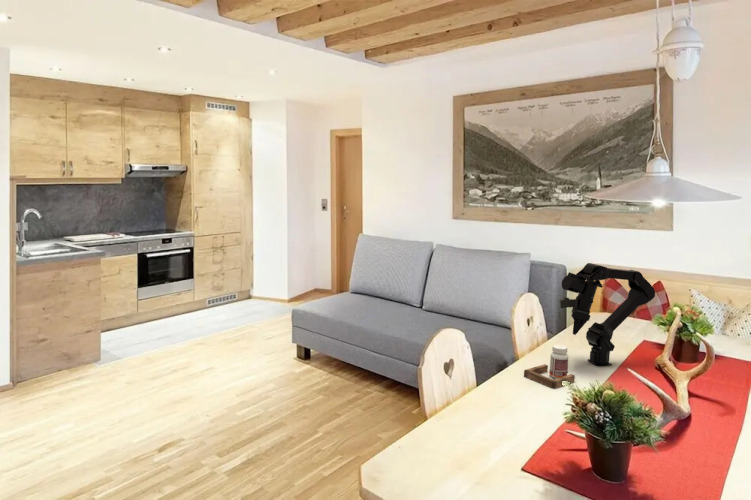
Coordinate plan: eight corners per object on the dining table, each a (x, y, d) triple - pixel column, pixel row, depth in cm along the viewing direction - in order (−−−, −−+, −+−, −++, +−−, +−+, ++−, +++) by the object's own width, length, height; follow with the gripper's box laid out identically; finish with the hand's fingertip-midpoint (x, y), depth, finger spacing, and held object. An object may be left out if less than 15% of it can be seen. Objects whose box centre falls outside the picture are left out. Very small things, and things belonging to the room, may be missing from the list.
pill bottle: (570, 377, 190) (572, 347, 188) (559, 380, 187) (561, 350, 185) (556, 372, 195) (558, 343, 194) (545, 375, 192) (547, 345, 190)
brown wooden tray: (544, 370, 196) (544, 364, 196) (574, 382, 186) (574, 375, 186) (523, 376, 190) (524, 370, 190) (553, 388, 179) (554, 382, 179)
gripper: (564, 288, 211) (553, 325, 212) (564, 290, 193) (552, 330, 194) (593, 297, 207) (581, 334, 208) (595, 299, 190) (583, 340, 190)
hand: (574, 334), depth 200 cm, fingers closed
